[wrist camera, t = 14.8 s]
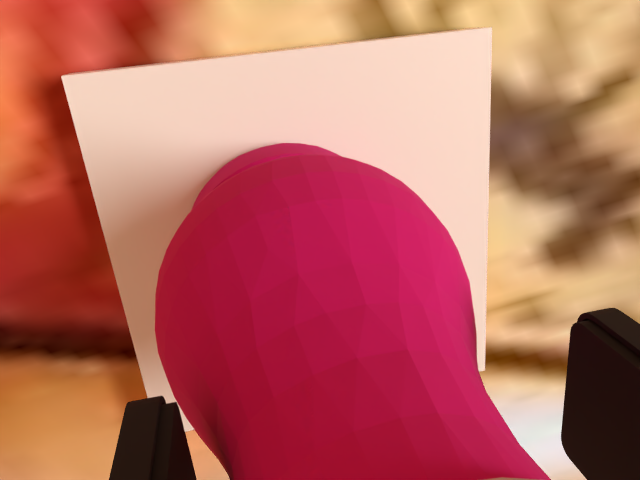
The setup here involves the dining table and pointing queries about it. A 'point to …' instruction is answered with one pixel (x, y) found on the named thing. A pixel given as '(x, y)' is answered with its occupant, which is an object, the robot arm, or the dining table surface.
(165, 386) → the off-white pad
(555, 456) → the dining table surface
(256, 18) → the dining table surface
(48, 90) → the dining table surface
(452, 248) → the pepper mill
